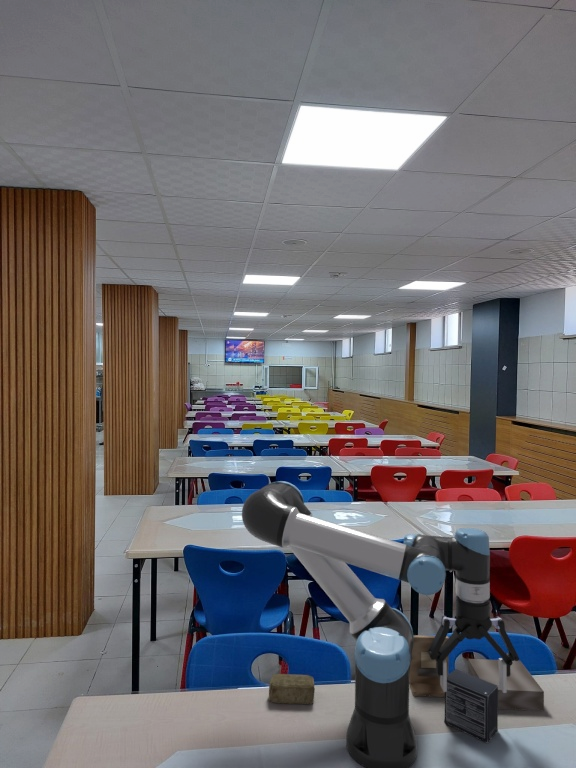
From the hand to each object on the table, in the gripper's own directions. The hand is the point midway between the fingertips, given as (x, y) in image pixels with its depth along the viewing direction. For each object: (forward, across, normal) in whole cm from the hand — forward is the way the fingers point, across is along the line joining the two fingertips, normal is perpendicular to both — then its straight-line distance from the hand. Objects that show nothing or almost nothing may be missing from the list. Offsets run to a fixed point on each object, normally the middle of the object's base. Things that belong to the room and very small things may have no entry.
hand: (473, 689), depth 117 cm
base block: (+9, +12, +14) cm, 21 cm away
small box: (+9, 0, 0) cm, 9 cm away
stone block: (+8, -42, +9) cm, 44 cm away
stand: (+8, -6, +14) cm, 18 cm away
